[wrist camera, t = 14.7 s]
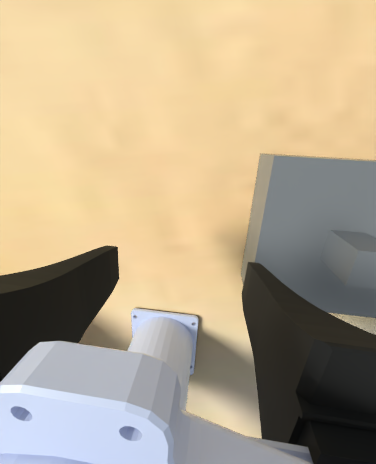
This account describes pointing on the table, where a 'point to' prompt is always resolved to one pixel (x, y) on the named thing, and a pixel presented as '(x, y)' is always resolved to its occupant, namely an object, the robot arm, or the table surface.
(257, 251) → the gray square knob slab
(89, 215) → the table surface
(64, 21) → the table surface
